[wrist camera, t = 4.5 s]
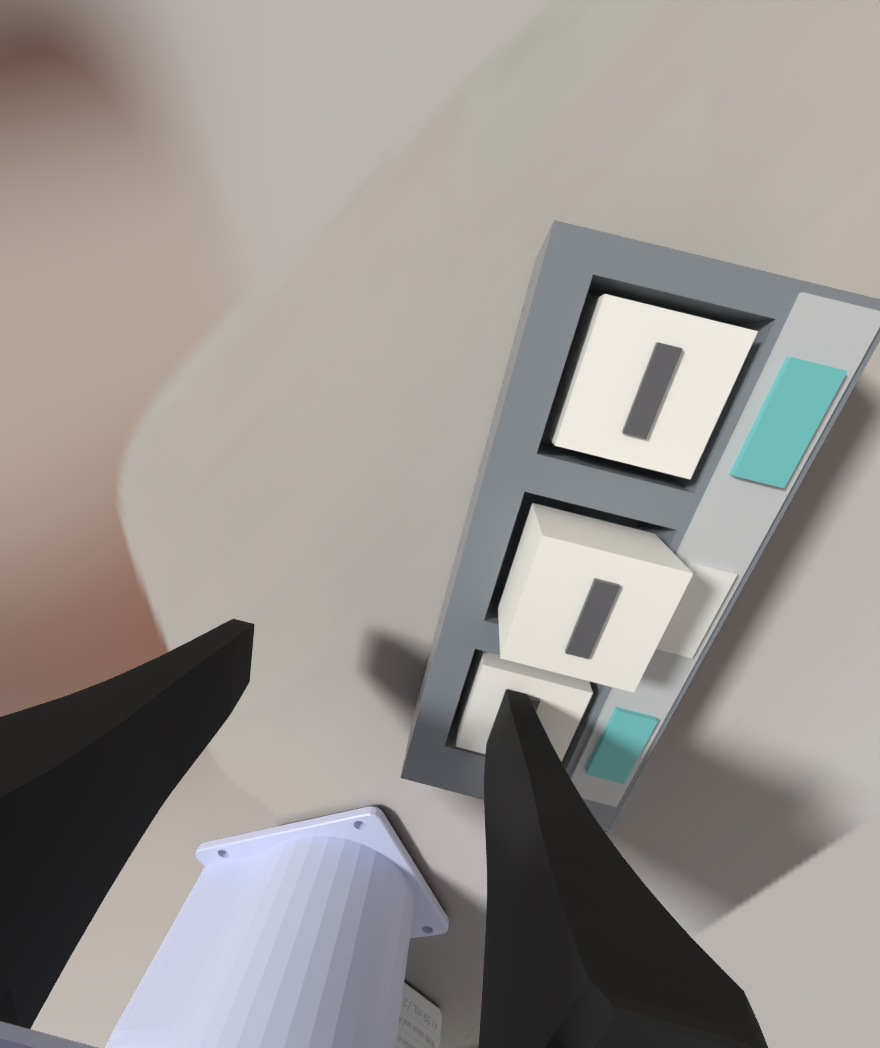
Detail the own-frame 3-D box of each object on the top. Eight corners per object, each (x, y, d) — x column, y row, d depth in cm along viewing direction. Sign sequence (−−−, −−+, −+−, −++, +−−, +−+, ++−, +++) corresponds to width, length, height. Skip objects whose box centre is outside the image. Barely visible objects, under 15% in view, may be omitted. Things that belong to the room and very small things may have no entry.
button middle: (609, 636, 12) (635, 695, 9) (498, 608, 12) (500, 661, 10) (654, 533, 10) (695, 575, 8) (532, 502, 10) (543, 537, 8)
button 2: (655, 459, 11) (692, 480, 9) (543, 431, 11) (555, 446, 9) (706, 337, 10) (761, 330, 8) (582, 306, 10) (606, 293, 8)
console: (587, 751, 16) (610, 840, 13) (415, 706, 16) (399, 785, 13) (794, 318, 11) (912, 302, 8) (537, 255, 11) (555, 216, 8)
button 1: (547, 717, 15) (557, 775, 13) (460, 695, 15) (455, 749, 13) (577, 645, 14) (593, 695, 12) (483, 621, 14) (482, 667, 12)
